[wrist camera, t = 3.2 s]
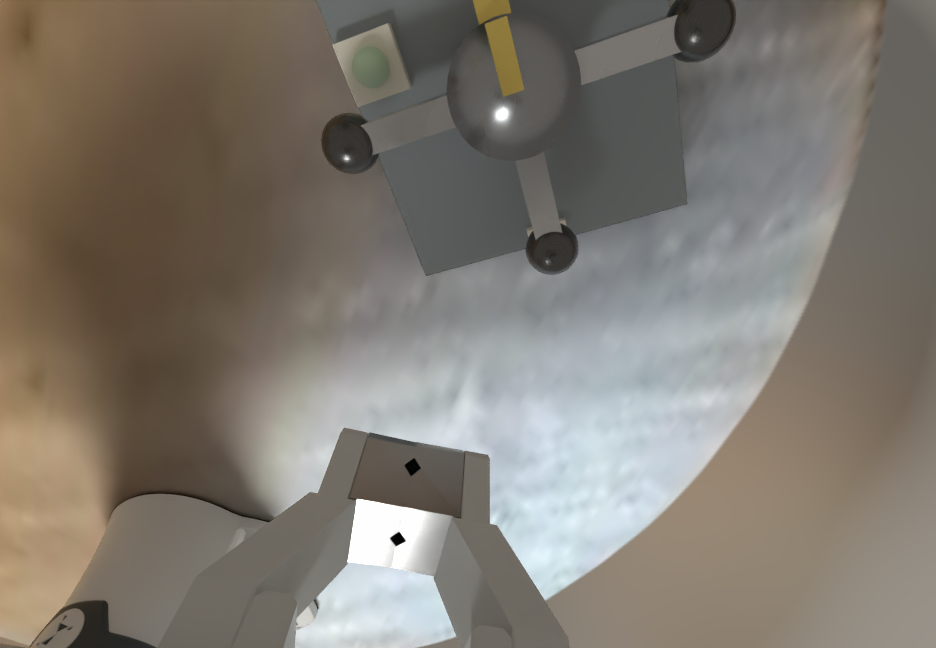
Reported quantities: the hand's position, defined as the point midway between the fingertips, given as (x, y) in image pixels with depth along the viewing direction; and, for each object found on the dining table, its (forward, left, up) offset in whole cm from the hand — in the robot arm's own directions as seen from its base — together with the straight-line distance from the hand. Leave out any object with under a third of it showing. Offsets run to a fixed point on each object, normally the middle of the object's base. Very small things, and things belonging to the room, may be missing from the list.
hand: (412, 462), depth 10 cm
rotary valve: (+5, -4, -20) cm, 21 cm away
